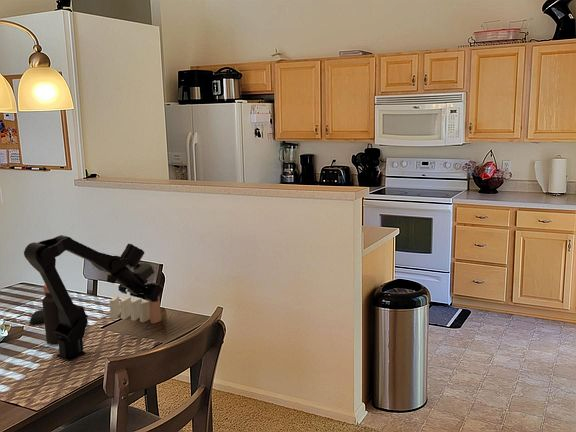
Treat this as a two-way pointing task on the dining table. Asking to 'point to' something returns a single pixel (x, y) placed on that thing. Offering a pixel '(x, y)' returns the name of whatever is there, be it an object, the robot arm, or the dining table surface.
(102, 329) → the dining table surface
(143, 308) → the ivory domino
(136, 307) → the ivory domino
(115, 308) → the ivory domino
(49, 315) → the bottle
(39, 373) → the dining table surface
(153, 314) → the terracotta domino
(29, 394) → the dining table surface
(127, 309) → the ivory domino
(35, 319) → the carrying case or bag
